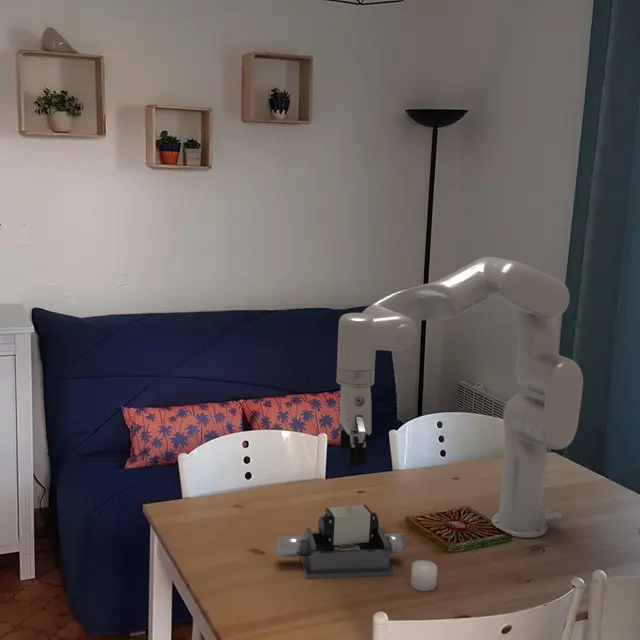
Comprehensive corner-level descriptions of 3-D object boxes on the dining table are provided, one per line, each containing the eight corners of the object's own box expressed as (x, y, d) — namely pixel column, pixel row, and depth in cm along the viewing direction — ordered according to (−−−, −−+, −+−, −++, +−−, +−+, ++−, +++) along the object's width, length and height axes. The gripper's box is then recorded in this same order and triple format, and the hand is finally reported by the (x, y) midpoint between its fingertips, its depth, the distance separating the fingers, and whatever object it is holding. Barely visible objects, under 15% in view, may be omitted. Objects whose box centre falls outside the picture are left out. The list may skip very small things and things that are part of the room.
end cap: (431, 578, 170) (433, 560, 169) (439, 590, 165) (440, 572, 164) (407, 579, 169) (409, 560, 168) (414, 591, 164) (415, 572, 163)
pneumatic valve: (376, 562, 173) (380, 508, 171) (322, 568, 170) (325, 512, 168) (367, 550, 178) (370, 497, 176) (315, 555, 175) (317, 501, 173)
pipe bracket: (394, 548, 182) (396, 522, 181) (408, 574, 170) (410, 547, 169) (275, 551, 178) (276, 524, 177) (281, 579, 166) (282, 551, 165)
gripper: (383, 387, 159) (379, 472, 162) (365, 364, 176) (361, 442, 179) (344, 387, 158) (341, 473, 161) (329, 364, 175) (327, 443, 178)
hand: (352, 457), depth 170 cm, fingers open, 9 cm apart
